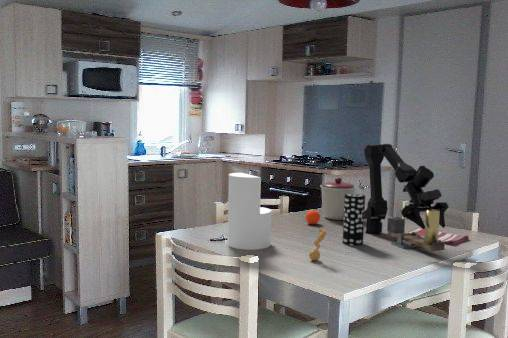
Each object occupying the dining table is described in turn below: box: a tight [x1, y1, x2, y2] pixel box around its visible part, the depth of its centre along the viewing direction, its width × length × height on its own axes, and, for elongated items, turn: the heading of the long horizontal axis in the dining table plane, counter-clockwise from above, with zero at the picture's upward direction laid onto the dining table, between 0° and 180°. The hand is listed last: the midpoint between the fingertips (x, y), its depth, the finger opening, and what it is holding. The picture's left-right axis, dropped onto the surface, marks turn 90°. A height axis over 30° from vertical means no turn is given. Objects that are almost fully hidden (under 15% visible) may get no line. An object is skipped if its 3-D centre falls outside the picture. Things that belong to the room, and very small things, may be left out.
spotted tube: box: [342, 193, 366, 247], centre depth 212 cm, size 8×8×20 cm
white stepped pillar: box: [227, 172, 272, 251], centre depth 206 cm, size 17×17×28 cm
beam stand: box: [390, 232, 422, 250], centre depth 211 cm, size 8×10×5 cm
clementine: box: [305, 209, 321, 225], centre depth 248 cm, size 8×7×7 cm
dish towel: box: [405, 227, 470, 247], centre depth 226 cm, size 17×23×3 cm
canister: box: [319, 176, 357, 221], centre depth 263 cm, size 18×18×21 cm
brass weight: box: [424, 209, 440, 245], centre depth 197 cm, size 5×5×13 cm
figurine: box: [308, 228, 327, 262], centre depth 185 cm, size 8×6×12 cm
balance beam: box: [386, 216, 446, 252], centre depth 207 cm, size 29×5×7 cm, turn 21°
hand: (434, 227), depth 196 cm, fingers open, 9 cm apart
